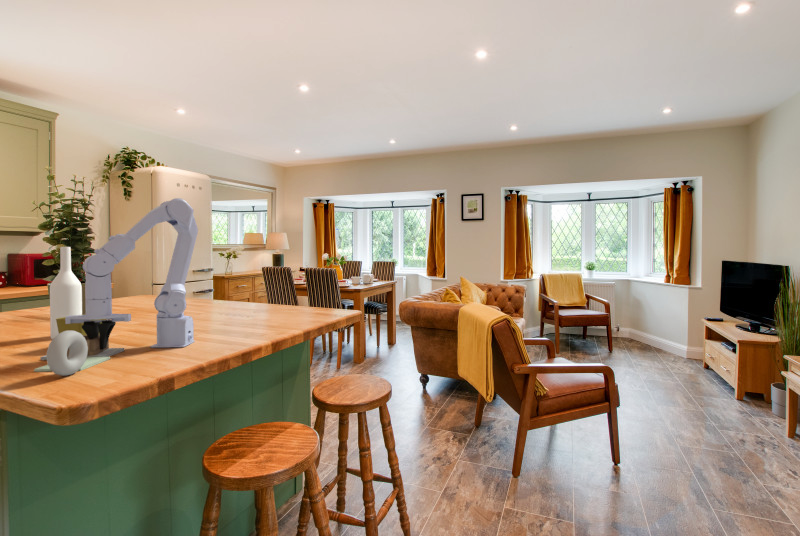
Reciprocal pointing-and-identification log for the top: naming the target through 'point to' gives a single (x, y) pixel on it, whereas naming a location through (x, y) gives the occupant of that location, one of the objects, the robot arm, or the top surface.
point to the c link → (93, 346)
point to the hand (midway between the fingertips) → (99, 348)
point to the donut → (59, 353)
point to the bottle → (64, 292)
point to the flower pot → (70, 326)
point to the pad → (88, 363)
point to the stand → (103, 354)
